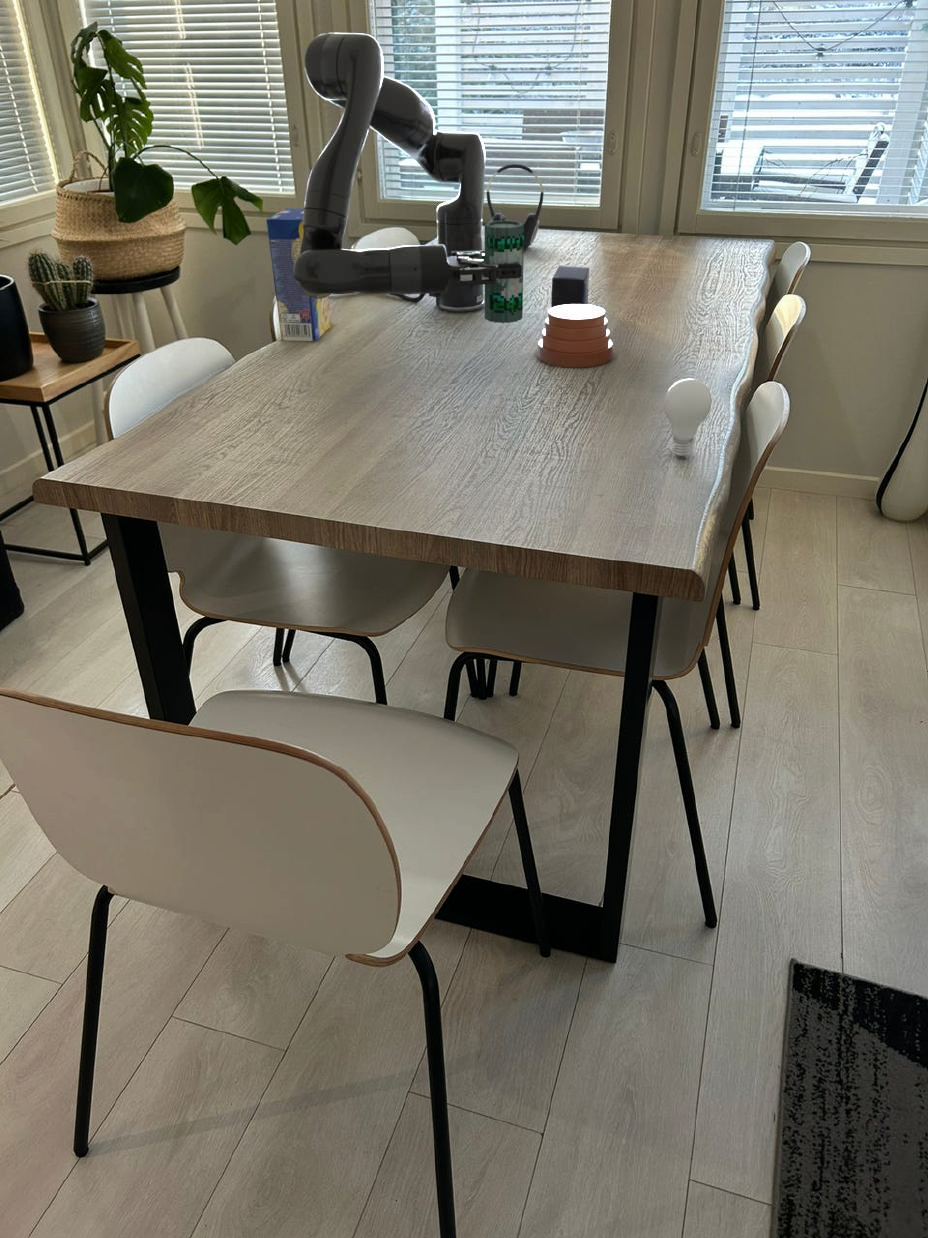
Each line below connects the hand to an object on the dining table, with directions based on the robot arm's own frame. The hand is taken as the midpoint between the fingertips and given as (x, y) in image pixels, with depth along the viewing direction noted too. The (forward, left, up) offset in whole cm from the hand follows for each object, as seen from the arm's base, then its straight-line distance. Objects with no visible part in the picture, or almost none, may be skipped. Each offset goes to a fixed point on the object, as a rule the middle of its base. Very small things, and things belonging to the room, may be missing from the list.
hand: (517, 265), depth 160 cm
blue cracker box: (-47, -5, -18) cm, 51 cm away
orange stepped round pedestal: (+4, +12, -17) cm, 22 cm away
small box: (-7, +27, -18) cm, 33 cm away
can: (-2, -2, -9) cm, 9 cm away
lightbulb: (+41, -18, -18) cm, 48 cm away
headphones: (-59, +81, -18) cm, 102 cm away
